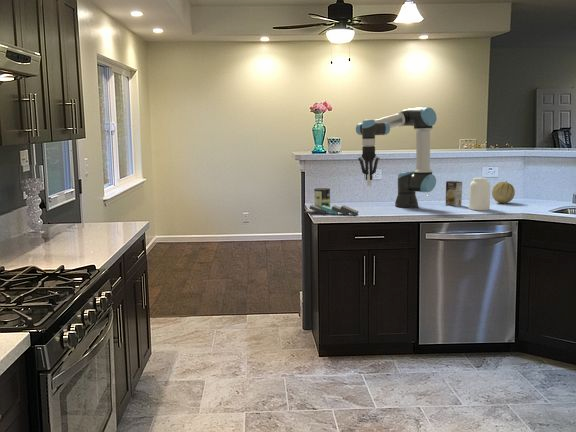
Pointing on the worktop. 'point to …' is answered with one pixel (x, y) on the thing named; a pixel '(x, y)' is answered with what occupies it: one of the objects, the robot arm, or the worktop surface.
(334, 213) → the teal domino
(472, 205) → the cream jar
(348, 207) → the domino
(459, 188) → the coffee box
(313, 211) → the domino
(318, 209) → the domino
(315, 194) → the coffee can
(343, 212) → the domino
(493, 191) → the cantaloupe
